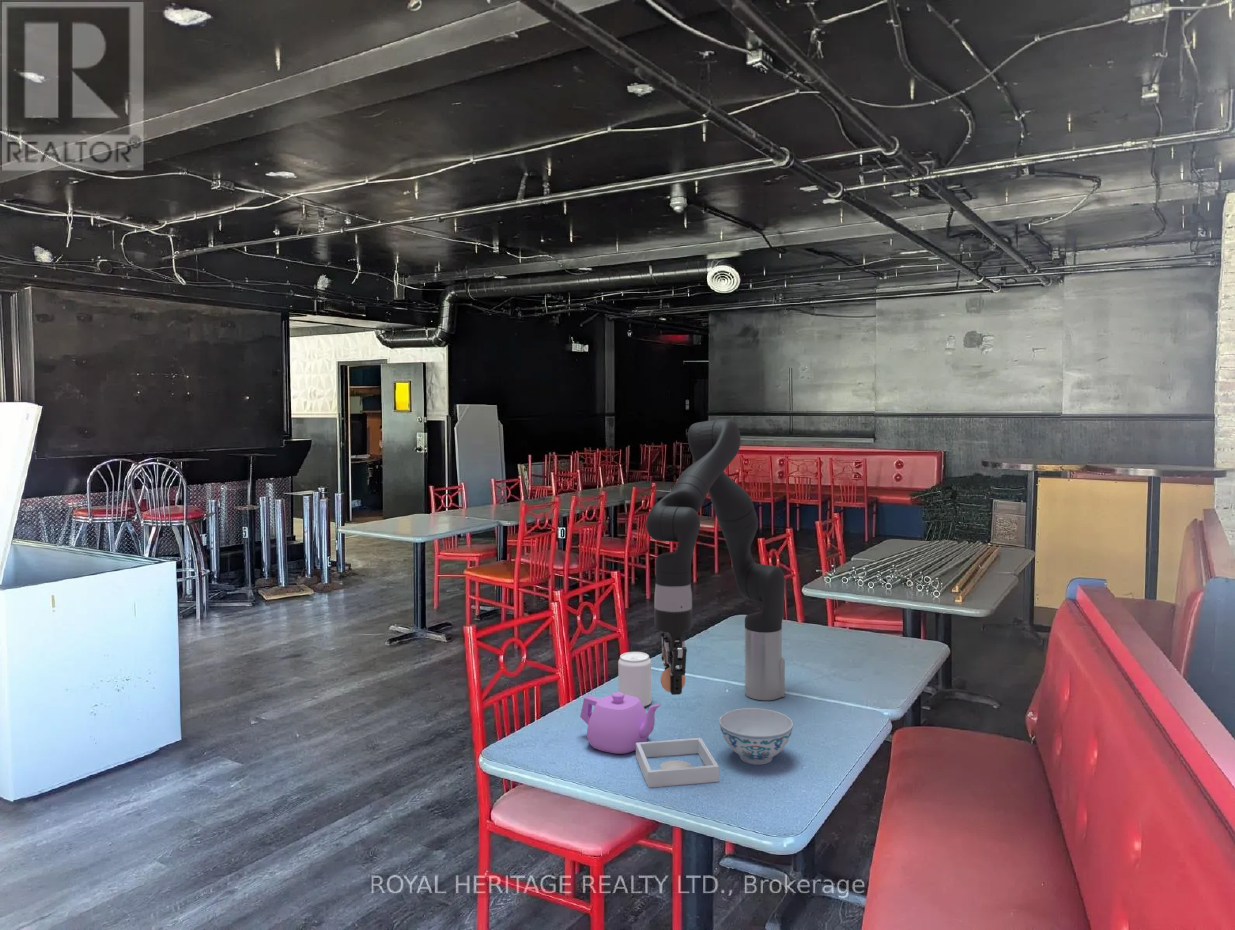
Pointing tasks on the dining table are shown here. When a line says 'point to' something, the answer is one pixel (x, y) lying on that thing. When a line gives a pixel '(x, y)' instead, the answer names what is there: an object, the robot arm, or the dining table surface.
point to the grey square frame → (677, 774)
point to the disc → (674, 764)
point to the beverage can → (635, 676)
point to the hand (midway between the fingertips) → (673, 688)
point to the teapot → (617, 722)
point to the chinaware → (756, 733)
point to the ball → (668, 679)
